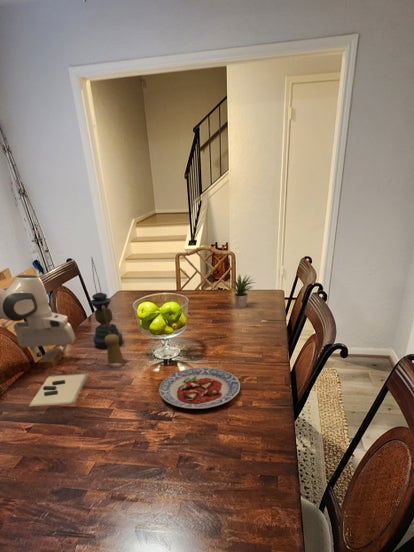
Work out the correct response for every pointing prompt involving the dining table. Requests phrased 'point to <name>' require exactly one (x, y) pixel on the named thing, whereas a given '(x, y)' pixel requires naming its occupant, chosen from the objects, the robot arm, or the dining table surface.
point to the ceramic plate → (199, 388)
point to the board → (60, 390)
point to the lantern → (103, 318)
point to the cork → (113, 349)
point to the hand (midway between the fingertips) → (51, 355)
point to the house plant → (241, 291)
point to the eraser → (50, 358)
